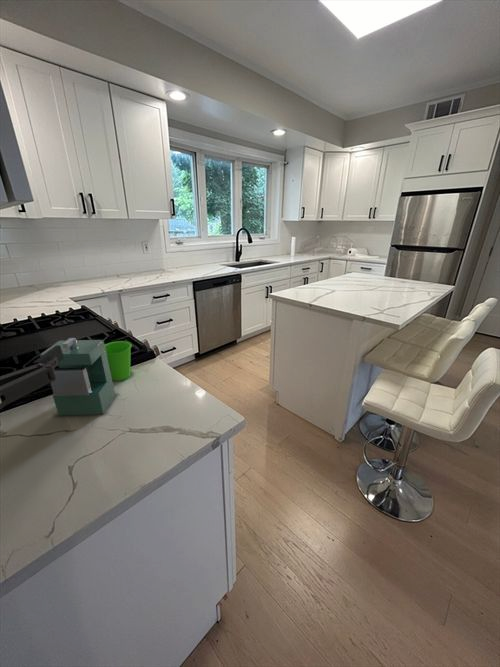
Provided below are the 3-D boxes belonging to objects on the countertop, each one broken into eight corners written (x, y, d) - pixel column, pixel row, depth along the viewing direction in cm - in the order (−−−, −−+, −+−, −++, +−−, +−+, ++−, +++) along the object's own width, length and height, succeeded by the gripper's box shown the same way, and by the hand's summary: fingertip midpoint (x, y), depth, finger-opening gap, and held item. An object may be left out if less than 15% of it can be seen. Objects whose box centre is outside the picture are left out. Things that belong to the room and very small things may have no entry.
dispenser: (59, 417, 70) (36, 346, 63) (75, 398, 78) (57, 332, 70) (104, 416, 71) (87, 345, 63) (115, 397, 78) (102, 332, 71)
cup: (99, 383, 85) (91, 351, 81) (120, 369, 93) (114, 339, 89) (122, 388, 83) (116, 355, 78) (142, 373, 91) (137, 343, 86)
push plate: (54, 396, 66) (46, 371, 64) (58, 392, 68) (50, 368, 65) (88, 395, 67) (82, 370, 64) (91, 391, 68) (86, 367, 66)
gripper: (-210, 467, 32) (-43, 372, 51) (17, 456, 33) (95, 368, 53) (-255, 414, 29) (-59, 335, 49) (-4, 405, 31) (87, 332, 50)
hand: (22, 352), depth 51 cm, fingers open, 13 cm apart
